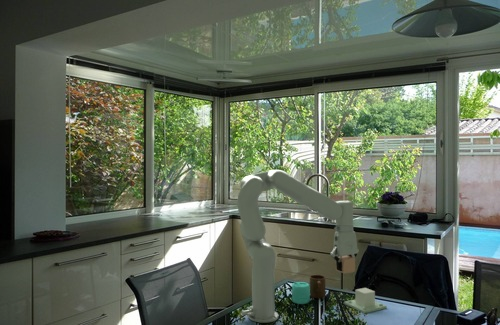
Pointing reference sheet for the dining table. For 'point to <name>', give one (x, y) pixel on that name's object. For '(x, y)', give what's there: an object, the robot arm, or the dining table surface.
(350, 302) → the tower plate
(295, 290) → the turquoise cylinder
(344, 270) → the orange tan cube
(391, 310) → the dining table surface
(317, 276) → the mug
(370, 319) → the dining table surface
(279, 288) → the dining table surface
